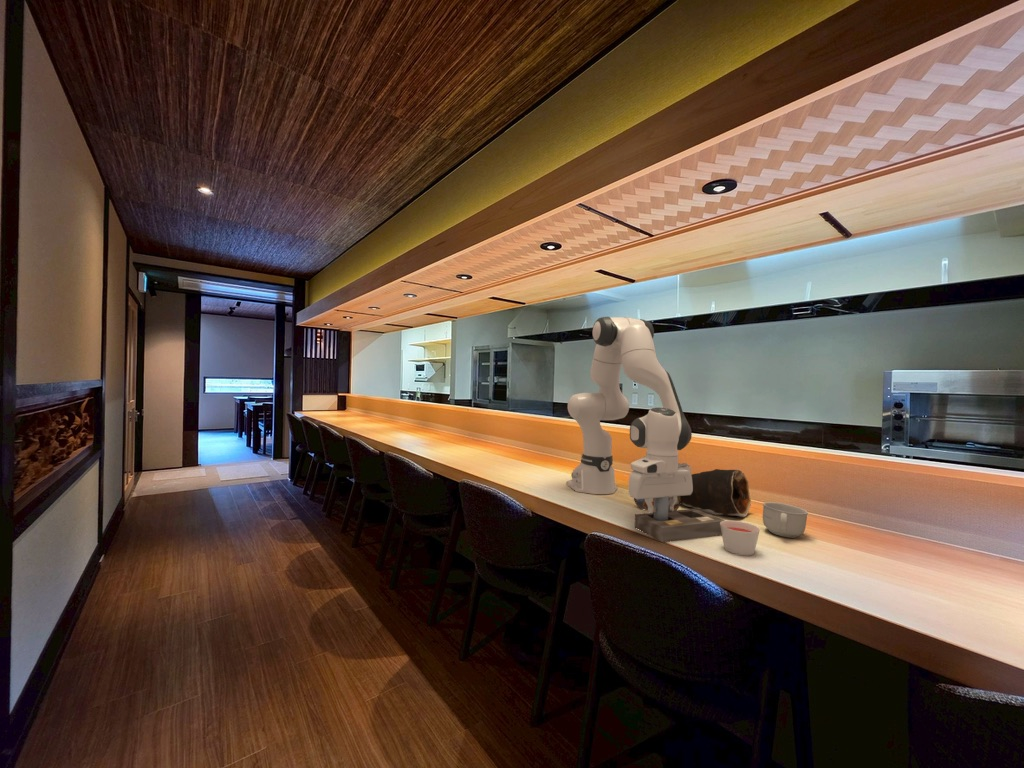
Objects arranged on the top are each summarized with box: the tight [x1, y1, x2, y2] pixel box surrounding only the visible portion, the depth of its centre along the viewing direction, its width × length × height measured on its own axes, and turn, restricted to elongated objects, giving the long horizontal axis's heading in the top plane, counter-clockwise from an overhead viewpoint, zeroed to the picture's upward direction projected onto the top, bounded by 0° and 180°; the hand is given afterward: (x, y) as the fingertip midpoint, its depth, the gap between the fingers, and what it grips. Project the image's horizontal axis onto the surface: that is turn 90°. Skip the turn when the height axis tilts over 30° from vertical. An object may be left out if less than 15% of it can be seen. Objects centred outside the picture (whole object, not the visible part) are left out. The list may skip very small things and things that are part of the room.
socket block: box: [634, 508, 726, 543], centre depth 121 cm, size 12×22×4 cm, turn 109°
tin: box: [633, 496, 681, 511], centre depth 141 cm, size 15×3×8 cm, turn 62°
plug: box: [654, 496, 669, 521], centre depth 121 cm, size 4×4×10 cm
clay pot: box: [680, 468, 752, 518], centre depth 145 cm, size 15×15×25 cm
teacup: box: [762, 501, 809, 539], centre depth 120 cm, size 14×11×8 cm
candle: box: [720, 519, 761, 556], centre depth 108 cm, size 9×9×6 cm
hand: (660, 511), depth 121 cm, fingers open, 5 cm apart
